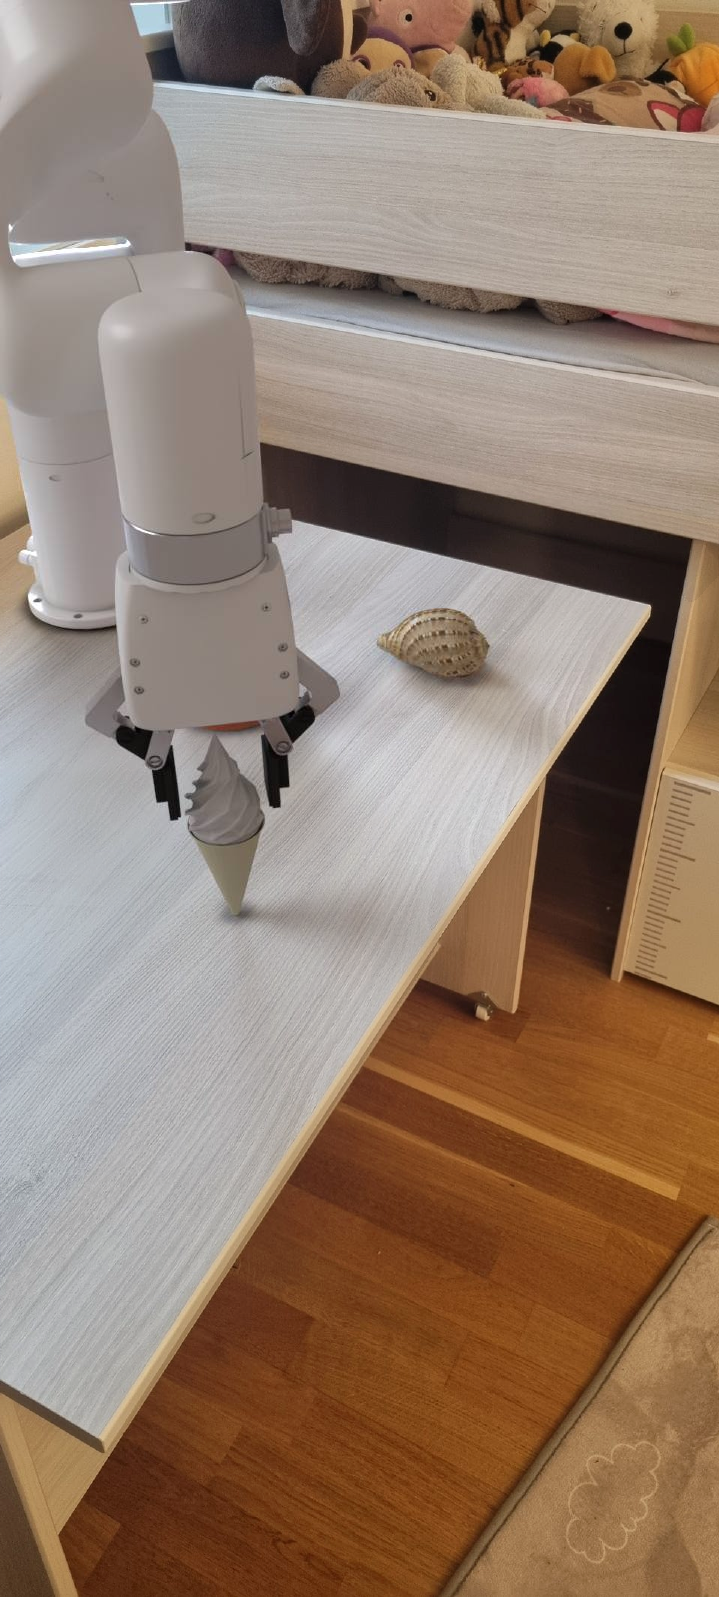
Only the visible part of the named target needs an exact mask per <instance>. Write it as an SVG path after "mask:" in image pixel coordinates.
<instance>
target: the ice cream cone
mask: <svg viewBox="0 0 719 1597" xmlns="http://www.w3.org/2000/svg"><path fill="white" fill-rule="evenodd" d="M196 771H197V772H201V774H200V776H199V777H198V779H195V780H193V781H191V785H193V786H194V787H195V790H194V791H193V792H186V793H185V794H184V799H187V800H190V801H191V802H192V805H191V807H190V808H186V809H185V810H184V816H188V817H187V821H186V829H187V832H188V834H189V835H190V837H191V838H193V840H194V841H195V844H196V846H197V847H198V849H199V850H198V851H200V853H201V856H202V857H203V860H204V862H205V863H206V865H207V867H208V869H209V871H210V873H211V875H212V877H213V879H214V881H215V883H216V886H217V887H218V889H219V891H220V893H221V894H222V897H223V899H224V901H225V903H226V904H227V907H228V908H229V910H230V912H231V915H233V916H239V915H240V913H241V908H242V906H243V905H242V904H243V901H244V898H245V893H246V889H247V887H248V882H249V879H250V874H251V871H252V867H253V863H254V861H255V860H254V859H255V857H256V852H257V849H258V845H259V840H260V837H261V834H262V833H261V832H262V831H263V829H264V827H265V824H266V815H265V813H264V811H263V810H262V808H261V798H260V795H259V792H258V790H257V787H256V786H257V785H255V784H254V783H253V782H251V781H250V780H249V779H248V778H247V777H246V776H245V775H243V774H242V773H241V769H240V768H239V766H238V762H237V761H236V760H235V759H234V758H232V757H231V755H230V754H229V753H228V751H227V750H226V748H225V747H224V745H223V743H222V741H220V738H219V737H218V735H217V734H216V732H214V733H213V734H212V736H211V740H210V742H209V746H208V749H207V751H206V754H205V756H204V760H203V761H202V762H201V763H200V765H199V766H197V768H196Z"/></svg>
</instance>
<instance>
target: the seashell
mask: <svg viewBox="0 0 719 1597" xmlns="http://www.w3.org/2000/svg"><path fill="white" fill-rule="evenodd" d="M475 622H476V621H475V620H474V619H472V618H471V617H470V616H468V615H467V614H466V613H464V612H462V611H460V610H456V609H453V608H447V607H438V608H437V607H436V608H429V609H425V610H421V611H418V612H415V613H413V614H411V615H409V616H408V617H406V618H404V620H402V621H401V622H400V623H399V624H398V625H397V626H396V627H395V628H394V629H392V630H391V631H388V632H387V633H382V634H381V633H379V635H378V637H377V639H376V646H377V647H378V648H379V649H380V650H382V651H383V652H386V653H388V654H390V655H391V656H393V657H394V658H395V659H396V660H399V661H401V662H402V663H404V664H408V665H411V666H414V667H418V668H420V669H423V670H424V671H425V672H427V673H430V674H432V675H434V676H436V677H437V678H438V677H439V678H443V679H444V678H446V679H449V678H454V679H455V678H458V679H459V678H466V677H471V676H473V675H475V674H477V673H478V672H479V671H480V669H481V668H482V667H484V665H485V664H486V660H487V658H488V653H489V649H490V647H491V645H490V644H489V641H488V640H487V637H485V634H484V633H482V632H481V631H480V630H478V628H477V626H476V623H475Z"/></svg>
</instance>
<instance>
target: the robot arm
mask: <svg viewBox="0 0 719 1597" xmlns="http://www.w3.org/2000/svg"><path fill="white" fill-rule="evenodd" d="M190 1H191V0H0V397H1V398H2V399H3V400H4V403H5V407H6V410H7V415H8V419H9V424H10V428H11V433H12V440H13V445H14V449H15V453H16V454H15V455H16V460H17V464H18V468H19V474H20V479H21V485H22V488H23V489H22V490H23V495H24V500H25V505H26V510H27V515H28V522H29V525H30V531H31V535H30V537H29V538H28V539H27V542H26V549H22V550H21V551H20V552H19V554H18V555H17V556H18V557H17V558H18V559H17V560H18V562H19V563H20V564H22V565H25V566H28V567H31V568H33V572H34V577H35V581H34V583H33V584H32V585H31V586H30V588H29V590H28V593H27V600H28V606H29V609H30V611H31V613H32V614H33V615H34V616H35V617H36V618H37V619H38V620H40V621H42V622H44V623H45V624H49V625H51V626H54V627H58V628H59V627H60V628H63V629H71V630H92V629H93V630H94V629H102V628H107V627H108V628H109V627H112V626H116V633H117V648H118V655H119V663H120V664H119V665H118V666H117V667H116V669H114V670H113V672H112V673H111V674H110V676H109V677H108V678H107V680H105V682H104V683H103V684H102V686H100V688H99V689H98V690H97V692H96V693H95V694H93V696H92V697H91V699H90V700H89V701H88V703H87V704H86V705H85V707H84V723H85V725H86V726H88V727H89V728H90V729H92V730H94V731H96V732H98V733H100V734H102V735H103V736H105V737H107V738H109V739H110V738H111V739H113V740H115V742H116V743H117V745H118V746H119V747H121V748H123V749H125V750H126V751H128V752H130V753H131V754H133V755H135V757H137V758H139V759H141V760H143V762H144V764H145V766H146V768H147V769H149V770H151V776H152V782H153V789H154V795H155V796H154V797H155V802H156V804H160V803H167V808H168V816H169V821H170V822H173V821H178V820H179V818H182V811H181V802H180V801H181V800H180V792H179V783H178V777H177V768H176V761H175V754H174V745H173V744H172V741H173V738H174V734H175V731H176V730H182V729H191V728H202V727H203V726H212V725H221V724H230V723H238V722H247V721H256V720H258V722H259V724H258V725H259V726H260V727H261V729H262V732H263V734H260V742H261V755H262V768H263V770H262V771H263V780H264V787H265V792H266V796H267V802H268V806H269V807H271V808H272V809H280V808H281V809H282V801H281V789H285V788H286V789H287V788H290V786H291V784H290V770H289V754H291V753H292V751H293V750H294V743H295V742H296V741H297V740H298V739H299V738H300V737H301V736H302V735H304V733H306V731H307V730H309V729H310V727H312V726H313V724H314V723H315V721H316V718H317V717H318V716H319V715H322V714H323V713H324V712H325V711H326V710H327V709H329V708H330V707H331V706H332V705H333V704H334V703H335V702H336V701H338V699H339V698H340V697H341V690H340V687H339V684H338V681H337V679H336V678H335V677H333V676H332V675H331V674H329V672H327V670H325V669H324V668H322V667H321V666H320V665H319V664H318V663H316V662H315V661H314V660H313V659H311V658H310V657H309V656H308V655H307V654H305V653H304V652H303V651H302V650H300V648H298V647H297V645H296V637H295V636H296V635H295V628H294V622H293V621H294V620H293V613H292V607H291V602H290V596H289V591H288V590H289V589H288V586H287V579H286V573H285V567H284V564H283V560H282V558H281V554H280V551H279V548H278V546H277V544H276V543H275V542H274V541H273V538H279V537H280V535H287V534H292V533H293V519H292V512H291V509H290V508H282V509H277V507H276V506H274V507H270V505H269V502H264V486H263V472H262V459H261V458H262V457H261V456H262V454H261V442H260V426H259V410H258V395H257V381H256V366H255V354H254V353H255V352H254V351H255V349H254V341H253V340H254V339H253V331H252V325H251V322H250V319H249V316H248V314H247V308H246V302H245V299H244V295H243V291H242V288H241V287H240V284H239V283H238V282H237V280H236V279H233V278H232V277H231V275H230V273H229V272H228V271H227V268H226V267H225V266H224V264H222V263H221V262H220V261H219V259H217V258H215V257H214V256H212V255H210V254H207V253H204V252H200V251H193V250H189V251H188V250H186V244H185V243H186V242H185V225H184V207H183V196H182V195H183V193H182V184H181V174H180V167H179V162H178V161H179V160H178V157H177V152H176V148H175V144H174V141H173V139H172V136H171V133H170V130H169V128H168V127H167V124H166V122H165V121H164V120H163V118H162V116H161V115H160V114H159V113H158V112H157V111H156V110H155V109H153V108H152V107H153V101H154V95H155V94H154V81H153V76H152V70H151V67H150V64H149V60H148V58H147V54H146V52H145V48H144V45H143V42H142V38H141V33H140V31H139V27H138V23H137V21H136V20H137V19H136V17H135V14H134V10H133V7H132V6H138V5H139V6H140V5H159V4H176V3H177V4H178V3H186V2H187V3H188V2H190ZM115 238H116V239H117V238H122V239H124V240H126V243H125V244H117V245H116V244H115V245H106V246H97V247H87V248H69V249H61V250H51V251H42V252H33V253H25V254H20V255H15V256H13V254H12V250H11V245H10V244H13V245H22V246H23V245H26V246H28V245H29V246H39V245H54V244H56V245H57V244H67V243H75V242H86V241H97V240H107V239H115ZM300 685H302V686H303V687H304V688H306V689H307V690H306V691H305V692H304V693H303V695H302V696H300ZM124 703H125V706H126V710H127V714H128V715H123V714H122V713H121V712H120V711H118V710H119V709H120V707H121V706H122V705H123V704H124Z"/></svg>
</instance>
